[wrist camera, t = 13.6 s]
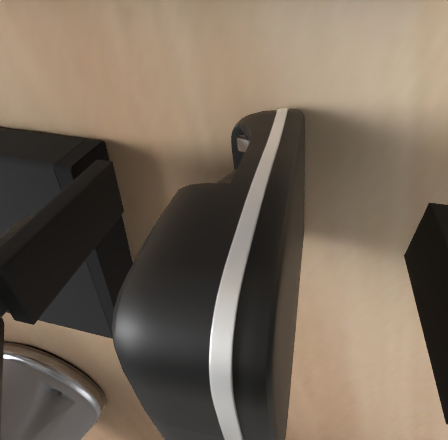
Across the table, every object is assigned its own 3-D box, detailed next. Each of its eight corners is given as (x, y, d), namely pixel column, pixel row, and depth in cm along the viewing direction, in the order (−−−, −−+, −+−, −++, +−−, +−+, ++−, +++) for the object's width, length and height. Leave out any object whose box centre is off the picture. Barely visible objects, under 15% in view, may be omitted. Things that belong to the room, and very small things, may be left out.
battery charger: (215, 104, 15) (49, 329, 6) (305, 99, 14) (265, 362, 5) (234, 229, 19) (153, 468, 10) (304, 232, 18) (281, 502, 9)
